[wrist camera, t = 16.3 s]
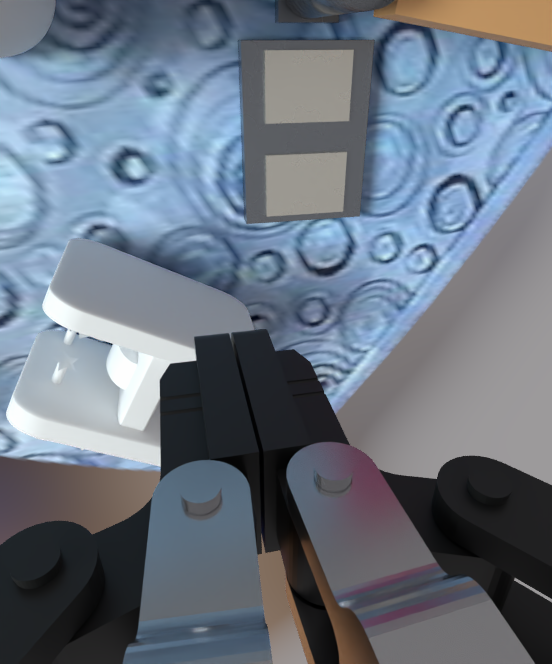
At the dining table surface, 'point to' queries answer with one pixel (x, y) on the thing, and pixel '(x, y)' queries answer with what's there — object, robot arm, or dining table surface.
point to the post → (322, 9)
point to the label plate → (303, 127)
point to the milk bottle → (23, 24)
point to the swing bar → (480, 18)
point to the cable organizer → (113, 350)
